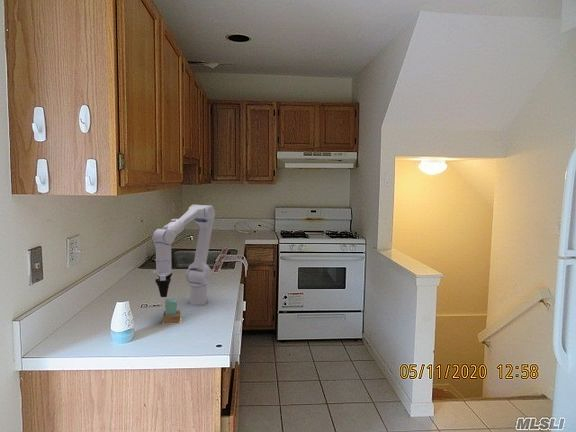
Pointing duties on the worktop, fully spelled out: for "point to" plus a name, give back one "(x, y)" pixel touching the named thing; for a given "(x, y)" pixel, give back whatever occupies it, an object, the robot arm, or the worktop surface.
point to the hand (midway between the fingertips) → (164, 293)
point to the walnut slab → (171, 318)
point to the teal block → (171, 307)
